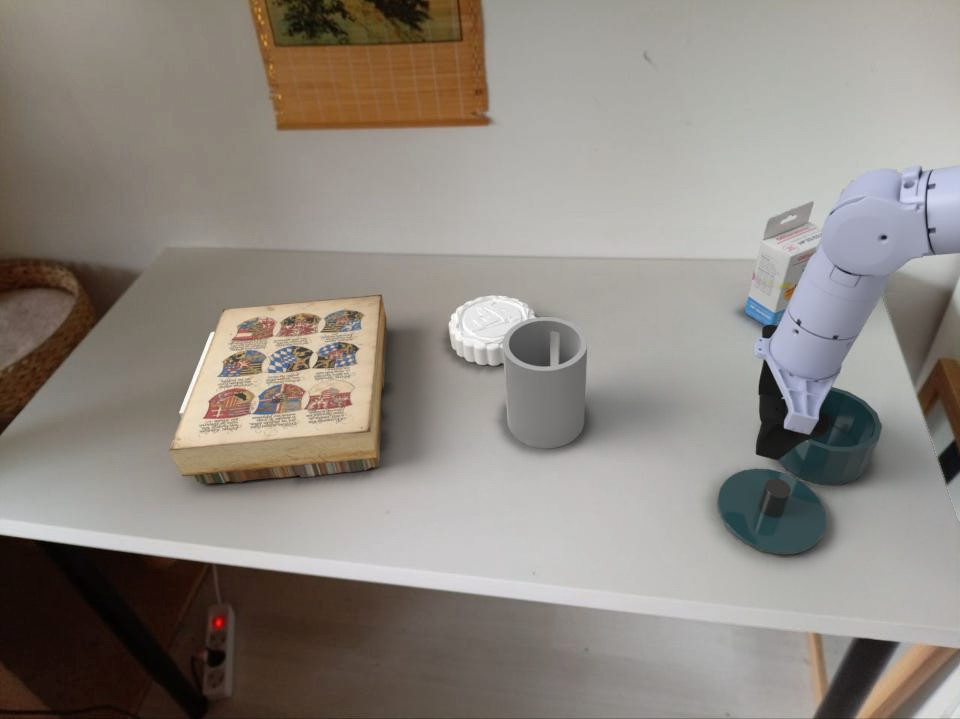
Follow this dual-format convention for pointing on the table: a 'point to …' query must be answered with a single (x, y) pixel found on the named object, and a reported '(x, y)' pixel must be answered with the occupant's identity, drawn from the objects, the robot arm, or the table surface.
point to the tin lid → (771, 511)
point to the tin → (837, 442)
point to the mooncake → (485, 327)
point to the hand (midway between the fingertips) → (768, 423)
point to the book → (286, 392)
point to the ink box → (781, 263)
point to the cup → (545, 382)
